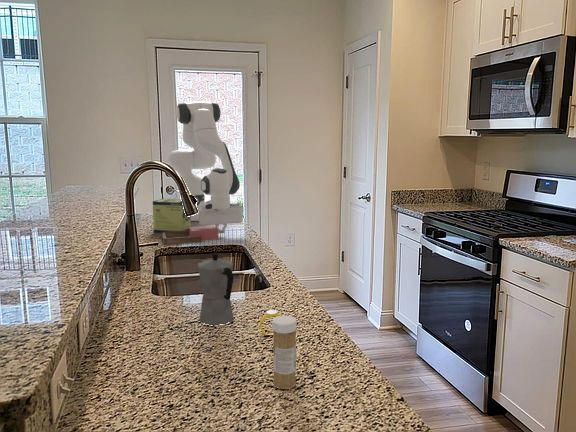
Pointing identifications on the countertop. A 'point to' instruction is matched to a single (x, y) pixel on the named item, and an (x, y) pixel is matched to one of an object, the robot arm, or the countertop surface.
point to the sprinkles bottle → (284, 351)
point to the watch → (271, 314)
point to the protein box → (169, 216)
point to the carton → (204, 232)
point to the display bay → (179, 237)
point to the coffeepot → (216, 290)
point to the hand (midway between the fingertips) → (221, 233)
